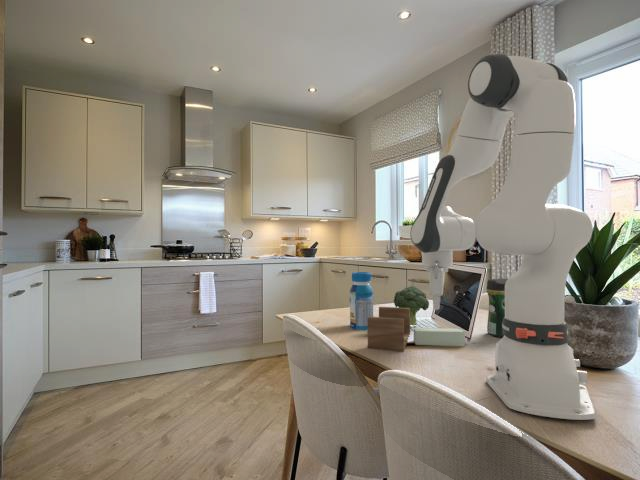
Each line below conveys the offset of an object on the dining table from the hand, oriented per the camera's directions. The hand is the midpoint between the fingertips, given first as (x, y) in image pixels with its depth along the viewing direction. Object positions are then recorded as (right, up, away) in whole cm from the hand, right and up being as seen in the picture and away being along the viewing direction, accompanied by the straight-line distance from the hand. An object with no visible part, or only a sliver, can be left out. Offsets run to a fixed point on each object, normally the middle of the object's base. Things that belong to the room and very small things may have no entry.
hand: (436, 306), depth 114 cm
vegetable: (-3, -12, +21) cm, 24 cm away
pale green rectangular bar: (0, -12, -1) cm, 12 cm away
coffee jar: (+25, -12, +10) cm, 29 cm away
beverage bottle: (-21, -12, +19) cm, 30 cm away
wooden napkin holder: (-14, -11, +2) cm, 18 cm away
